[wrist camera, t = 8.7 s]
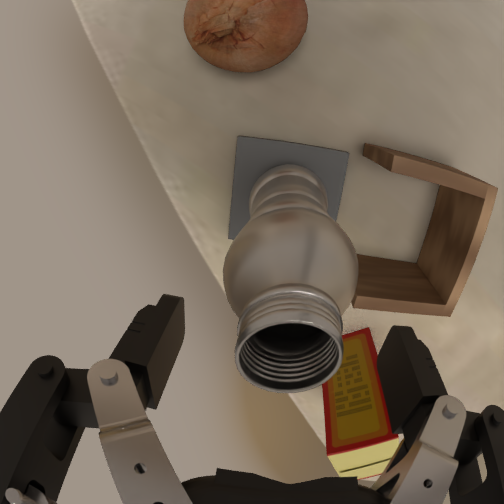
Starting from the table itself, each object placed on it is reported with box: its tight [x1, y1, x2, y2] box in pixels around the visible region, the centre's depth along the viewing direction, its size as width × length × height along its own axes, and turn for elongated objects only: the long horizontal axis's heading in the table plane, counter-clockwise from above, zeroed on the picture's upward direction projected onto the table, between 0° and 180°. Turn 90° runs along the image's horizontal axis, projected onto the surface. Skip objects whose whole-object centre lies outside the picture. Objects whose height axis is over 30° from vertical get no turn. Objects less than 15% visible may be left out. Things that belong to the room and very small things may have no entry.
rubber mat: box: [228, 136, 349, 240], centre depth 28 cm, size 10×10×1 cm
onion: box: [184, 0, 308, 72], centre depth 18 cm, size 10×9×10 cm
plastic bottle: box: [223, 164, 358, 393], centre depth 18 cm, size 6×7×20 cm
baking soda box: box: [322, 327, 399, 480], centre depth 29 cm, size 10×6×16 cm
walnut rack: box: [351, 143, 498, 317], centre depth 24 cm, size 12×10×8 cm
